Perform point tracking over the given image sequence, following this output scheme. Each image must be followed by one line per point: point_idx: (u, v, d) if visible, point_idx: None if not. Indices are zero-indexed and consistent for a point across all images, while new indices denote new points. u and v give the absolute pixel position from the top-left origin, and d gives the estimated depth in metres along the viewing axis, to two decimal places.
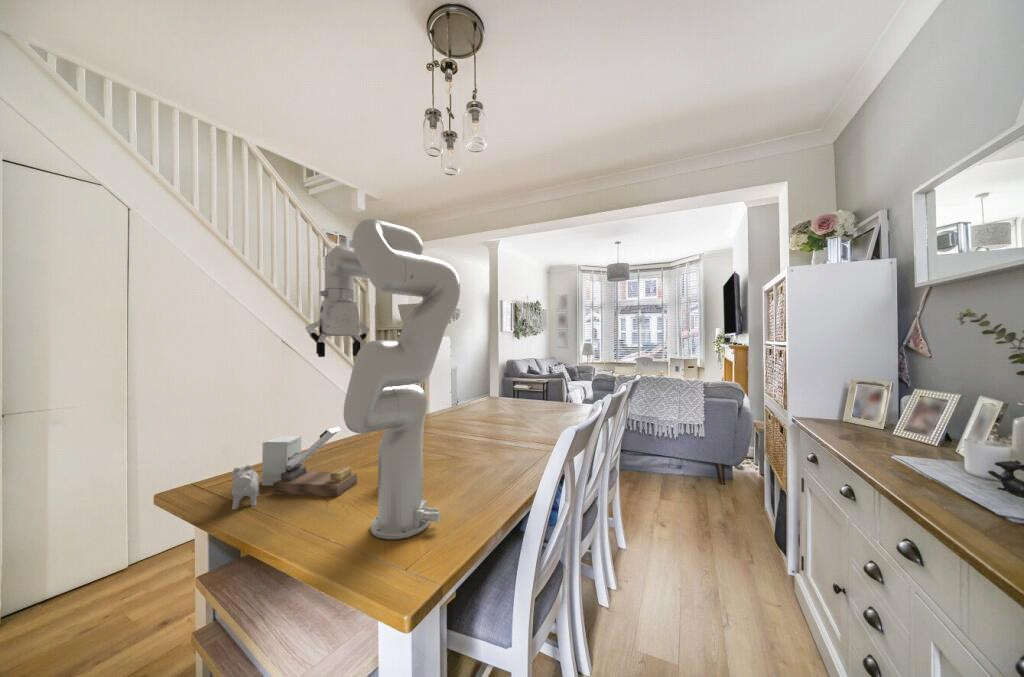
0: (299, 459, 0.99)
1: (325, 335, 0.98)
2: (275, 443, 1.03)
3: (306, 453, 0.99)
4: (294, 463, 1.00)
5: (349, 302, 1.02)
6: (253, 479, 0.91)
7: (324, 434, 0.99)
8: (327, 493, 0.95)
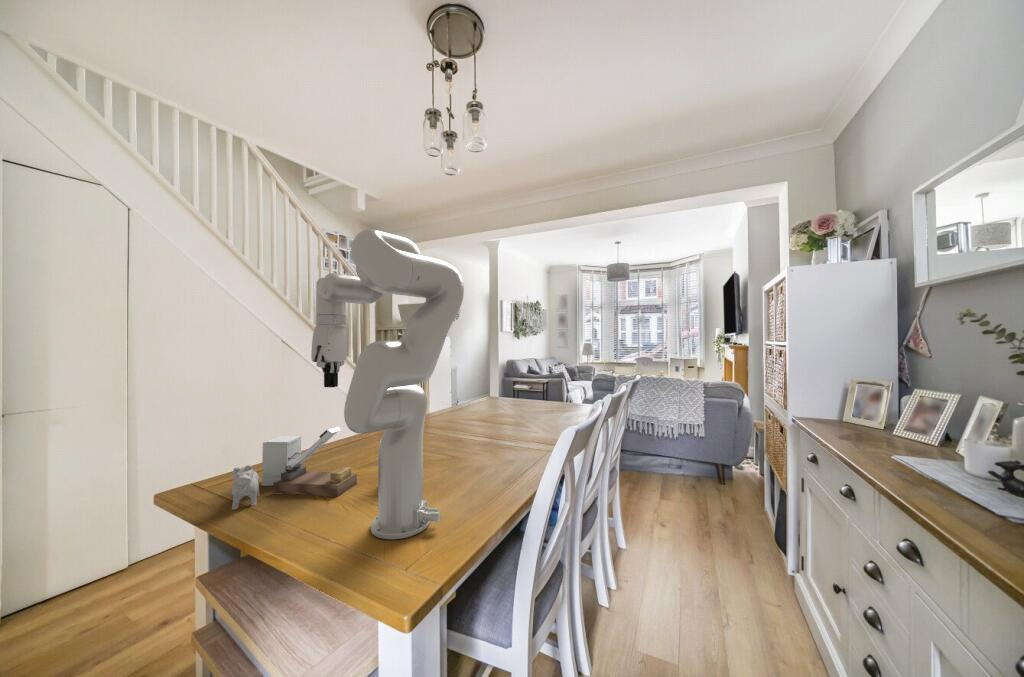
0: (299, 459, 0.99)
1: None
2: (275, 443, 1.03)
3: (306, 453, 0.99)
4: (294, 463, 1.00)
5: None
6: (253, 479, 0.91)
7: (324, 434, 0.99)
8: (327, 493, 0.95)
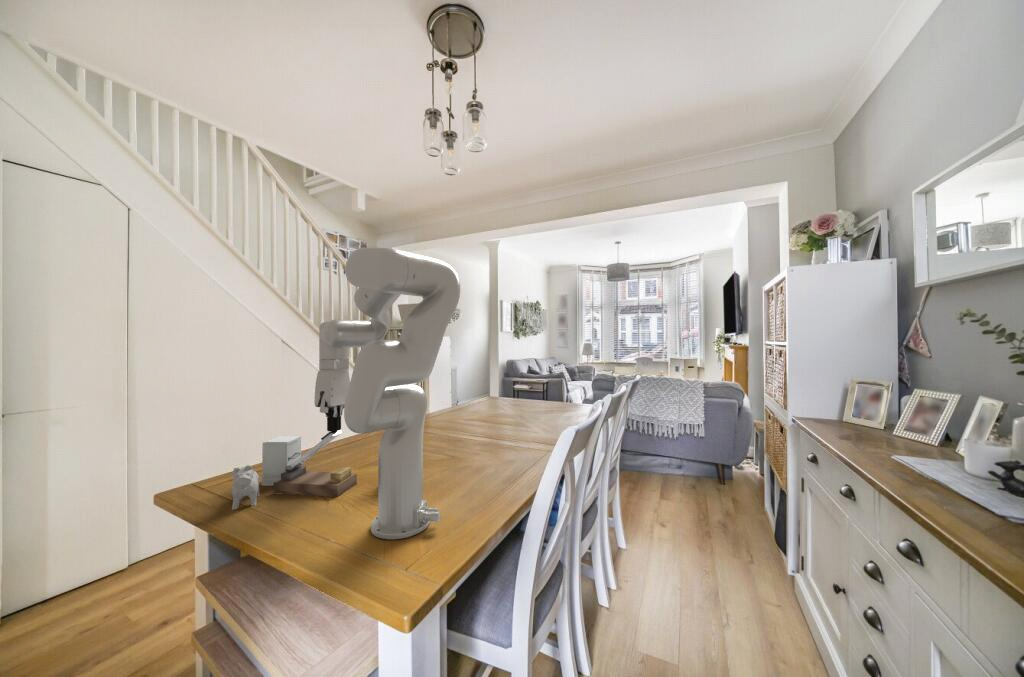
0: (300, 460, 0.99)
1: None
2: (275, 443, 1.03)
3: (307, 454, 0.99)
4: (294, 463, 1.00)
5: None
6: (253, 479, 0.91)
7: (326, 437, 0.98)
8: (327, 493, 0.95)
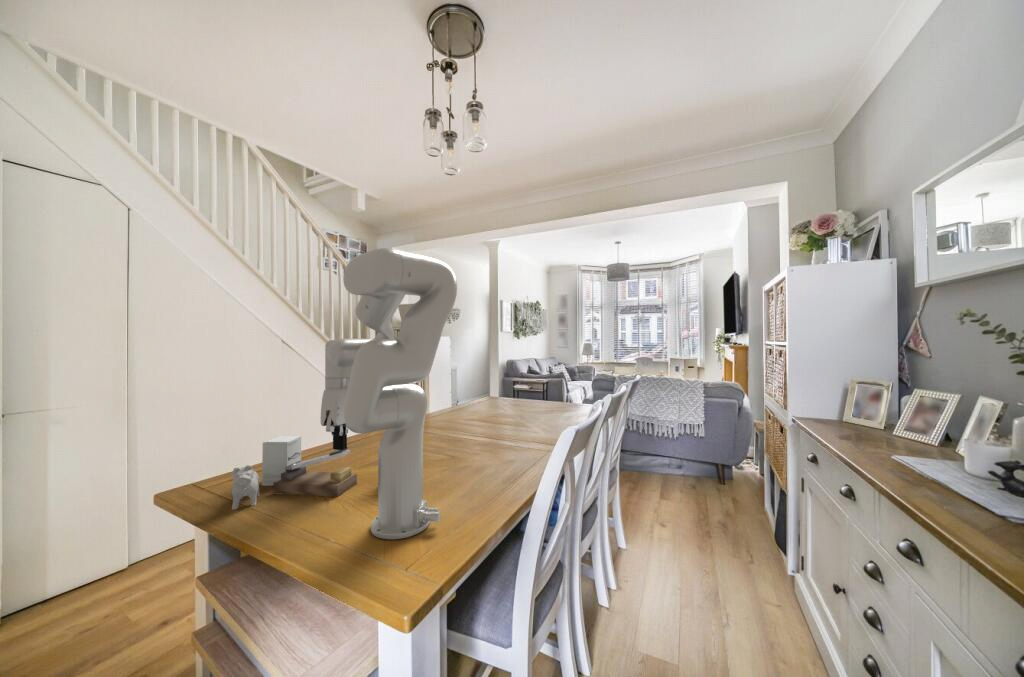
0: (302, 465, 0.99)
1: None
2: (275, 443, 1.03)
3: (310, 463, 0.99)
4: (295, 466, 1.00)
5: None
6: (253, 479, 0.91)
7: (334, 454, 0.98)
8: (327, 493, 0.95)
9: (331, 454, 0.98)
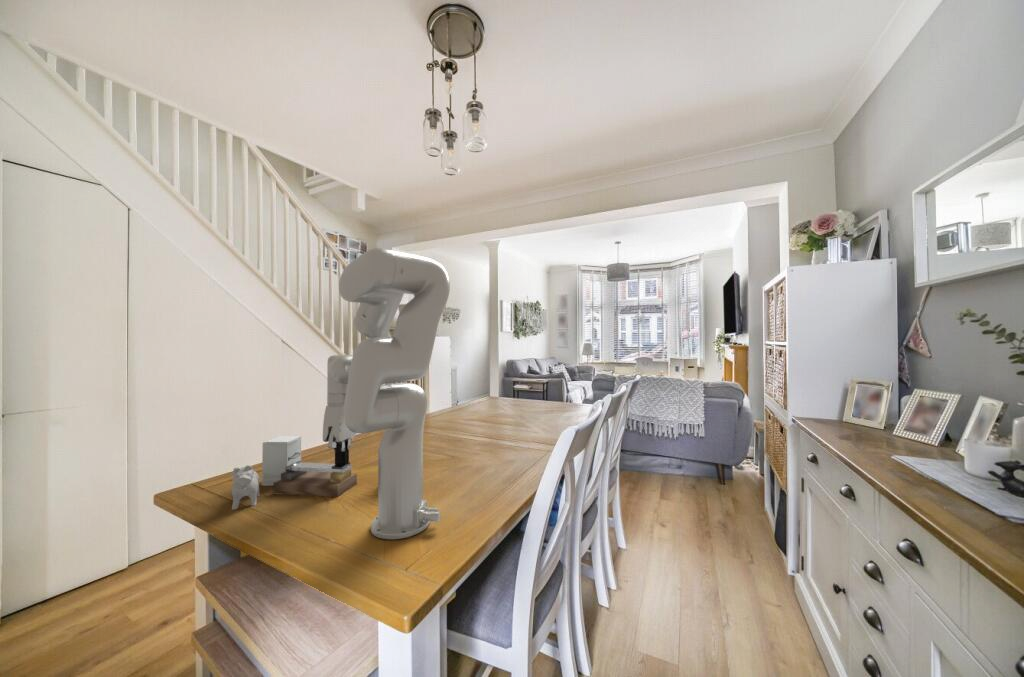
0: (302, 469, 0.99)
1: None
2: (275, 443, 1.03)
3: (311, 470, 0.99)
4: (296, 469, 0.99)
5: None
6: (253, 479, 0.91)
7: (337, 469, 0.98)
8: (327, 493, 0.95)
9: (333, 468, 0.98)
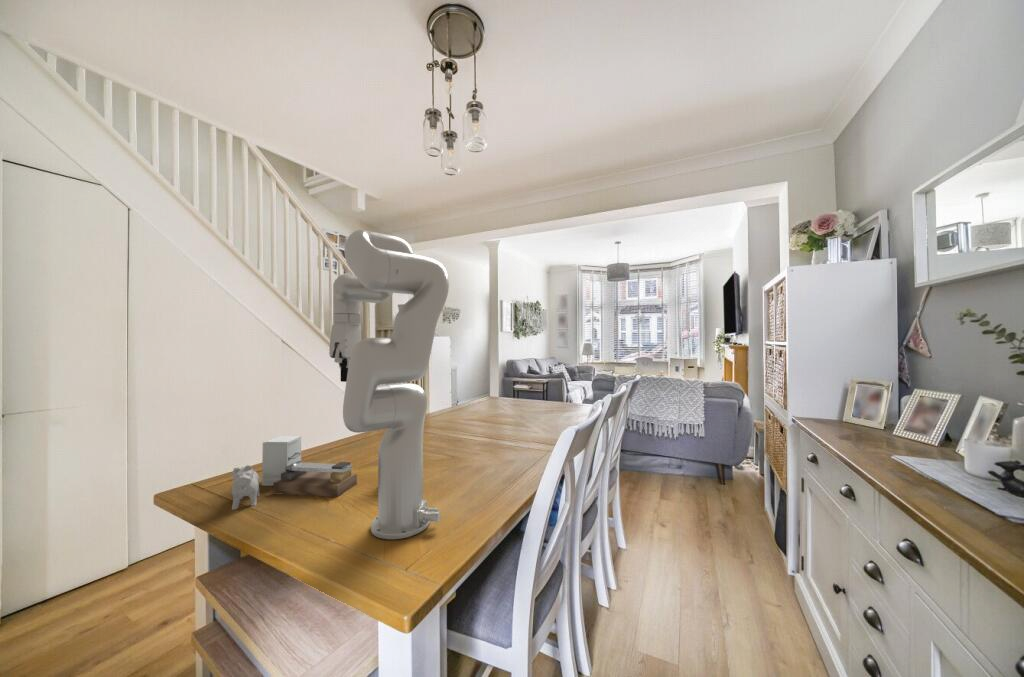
0: (302, 469, 0.99)
1: None
2: (275, 443, 1.03)
3: (311, 470, 0.99)
4: (296, 469, 0.99)
5: None
6: (253, 479, 0.91)
7: (337, 469, 0.98)
8: (327, 493, 0.95)
9: (333, 468, 0.98)
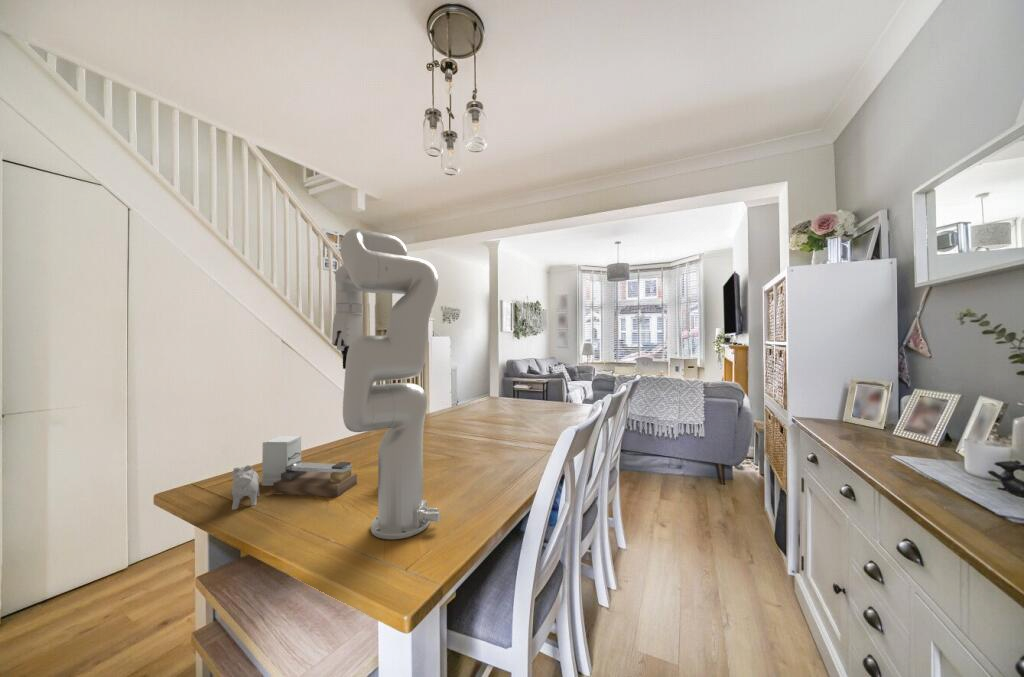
0: (302, 469, 0.99)
1: None
2: (275, 443, 1.03)
3: (311, 470, 0.99)
4: (296, 469, 0.99)
5: None
6: (253, 479, 0.91)
7: (337, 469, 0.98)
8: (327, 493, 0.95)
9: (333, 468, 0.98)
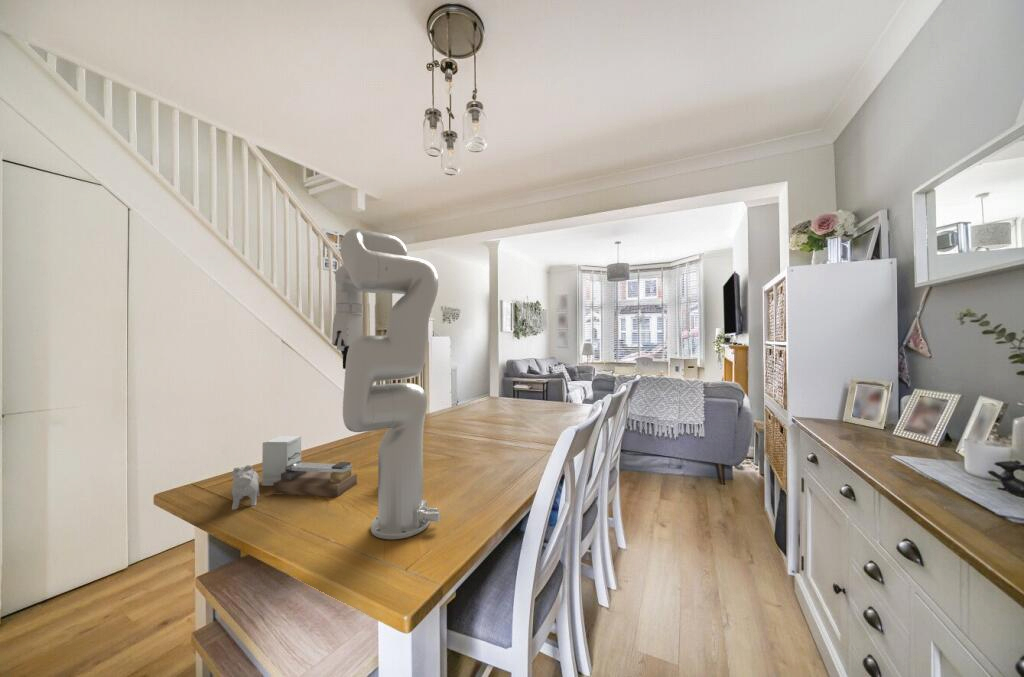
0: (302, 469, 0.99)
1: None
2: (275, 443, 1.03)
3: (311, 470, 0.99)
4: (296, 469, 0.99)
5: None
6: (253, 479, 0.91)
7: (337, 469, 0.98)
8: (327, 493, 0.95)
9: (333, 468, 0.98)
